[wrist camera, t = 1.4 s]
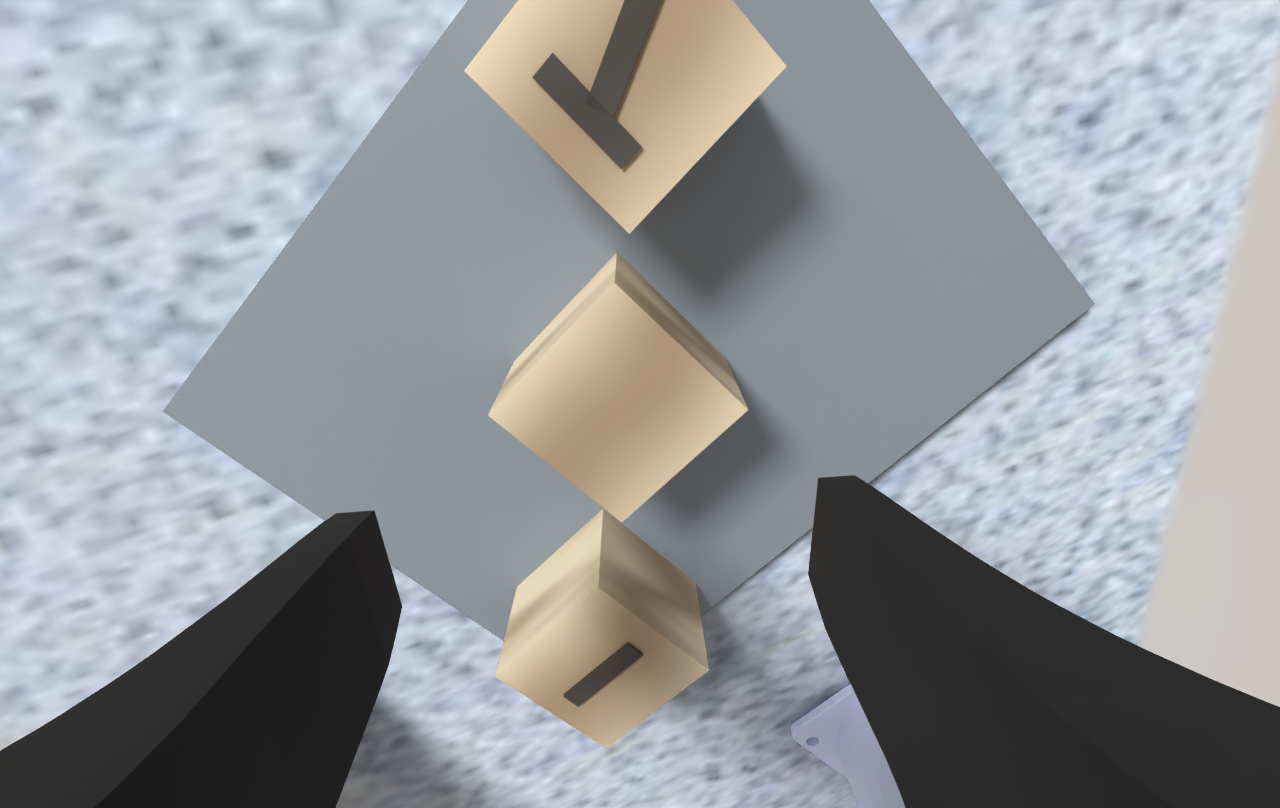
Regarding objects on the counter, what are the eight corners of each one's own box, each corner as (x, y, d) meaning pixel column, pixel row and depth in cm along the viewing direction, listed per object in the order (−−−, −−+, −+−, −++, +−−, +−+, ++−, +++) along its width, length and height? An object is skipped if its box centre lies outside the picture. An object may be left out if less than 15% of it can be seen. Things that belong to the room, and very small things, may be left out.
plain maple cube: (724, 356, 19) (748, 409, 15) (622, 452, 20) (621, 522, 17) (617, 252, 18) (614, 282, 14) (514, 360, 19) (487, 415, 15)
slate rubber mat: (1083, 299, 19) (1094, 304, 19) (594, 690, 25) (593, 701, 25) (666, -256, 14) (668, -270, 13) (173, 405, 20) (162, 411, 19)
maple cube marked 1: (695, 582, 22) (710, 673, 19) (609, 652, 24) (606, 751, 20) (603, 508, 21) (597, 590, 17) (516, 587, 22) (494, 679, 18)
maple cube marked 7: (749, 82, 16) (788, 65, 12) (628, 212, 17) (629, 234, 13) (622, -68, 15) (622, -138, 11) (501, 85, 16) (462, 70, 12)
